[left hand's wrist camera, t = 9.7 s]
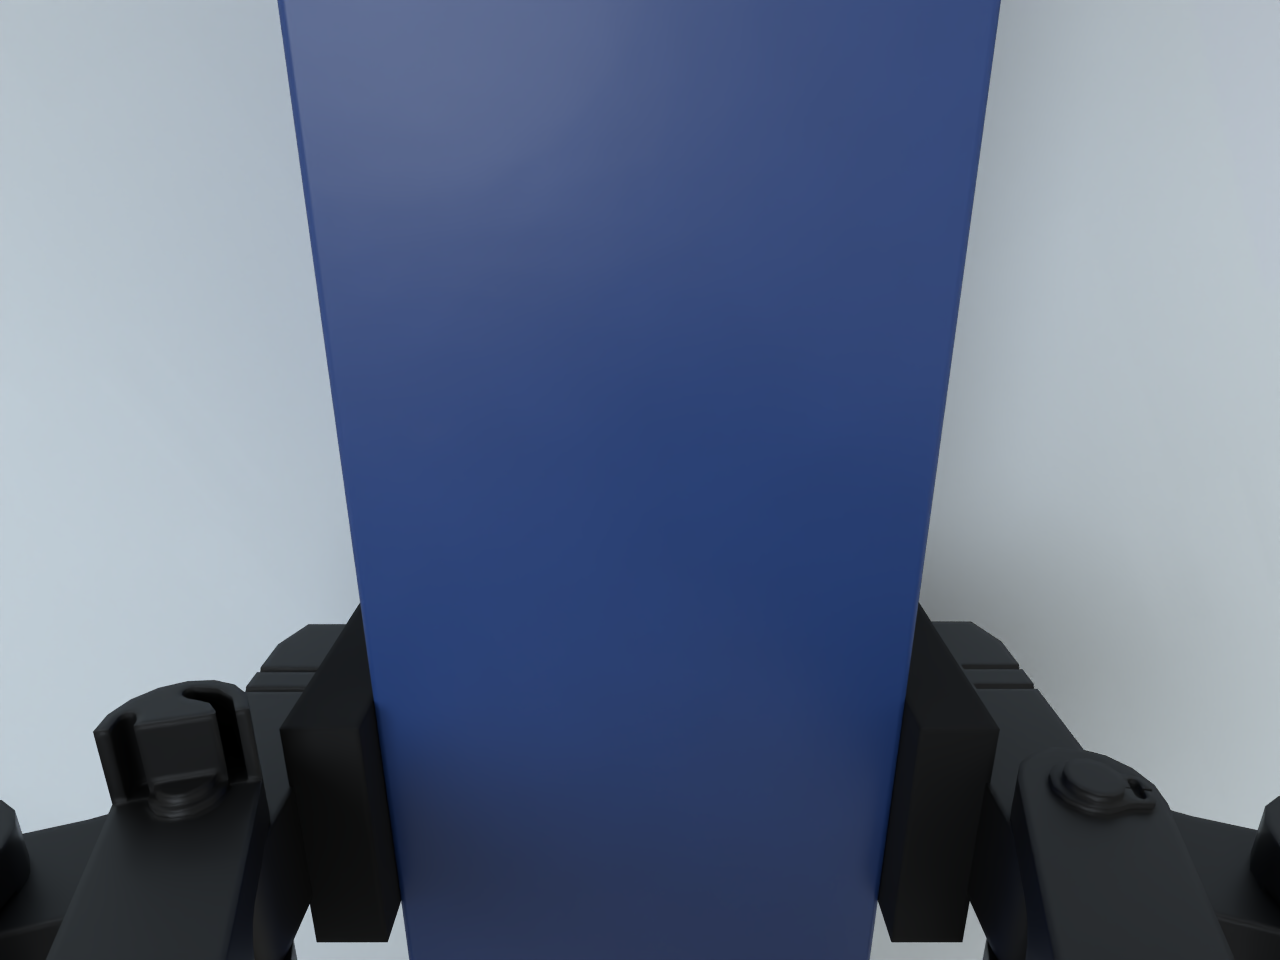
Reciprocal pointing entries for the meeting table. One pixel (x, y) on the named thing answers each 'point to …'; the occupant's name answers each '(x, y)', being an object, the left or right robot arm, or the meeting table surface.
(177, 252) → the meeting table surface
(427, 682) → the blue block
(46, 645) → the meeting table surface
